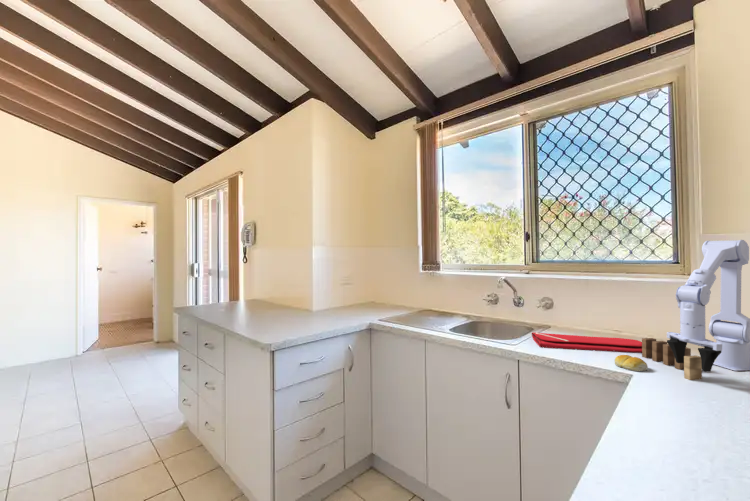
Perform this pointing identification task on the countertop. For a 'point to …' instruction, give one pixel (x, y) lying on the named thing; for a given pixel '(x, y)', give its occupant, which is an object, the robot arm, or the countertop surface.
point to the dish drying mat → (587, 343)
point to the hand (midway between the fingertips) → (692, 366)
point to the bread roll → (630, 363)
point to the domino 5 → (692, 367)
